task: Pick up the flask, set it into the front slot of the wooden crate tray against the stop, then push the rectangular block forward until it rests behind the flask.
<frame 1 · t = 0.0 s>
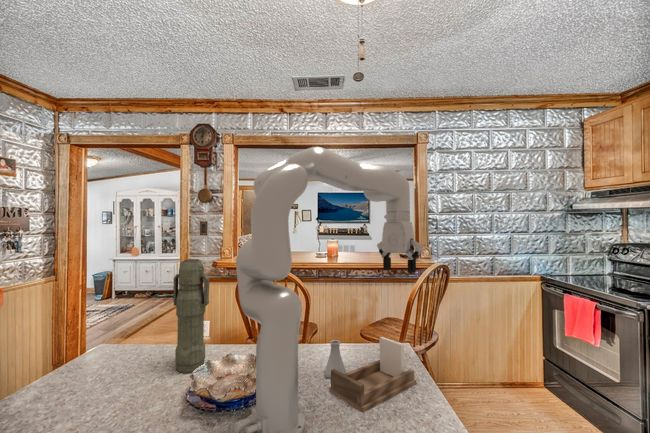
hand: (399, 270, 100), 31 cm above the counter, tool pointing down, fingers open, 9 cm apart
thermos: (190, 368, 101), on the counter
flask: (335, 375, 96), on the counter
wooden crate tray: (373, 387, 88), on the counter
rectangular block: (391, 357, 93), point 6 cm above the counter, slide at 0.0 cm
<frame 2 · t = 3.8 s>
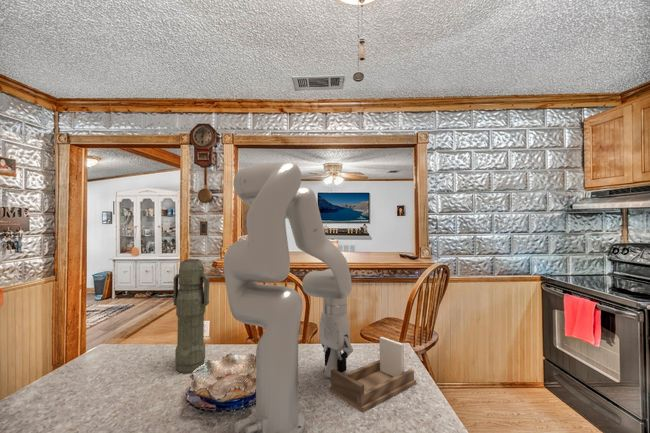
hand: (335, 367, 96), 2 cm above the counter, tool pointing down, fingers closed on flask, 5 cm apart
flask: (335, 375, 96), on the counter, touching gripper
everything else where it was.
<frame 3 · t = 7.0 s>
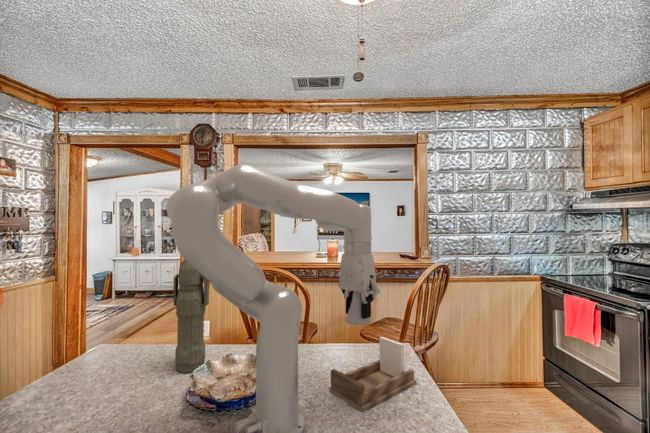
hand: (358, 314, 85), 21 cm above the counter, tool pointing down, fingers closed on flask, 5 cm apart
flask: (358, 323, 85), point 19 cm above the counter, touching gripper
everything else where it was.
when the fingers open (4 cm above the counter, at t = 10.6 s): flask drops 1 cm, resting on wooden crate tray.
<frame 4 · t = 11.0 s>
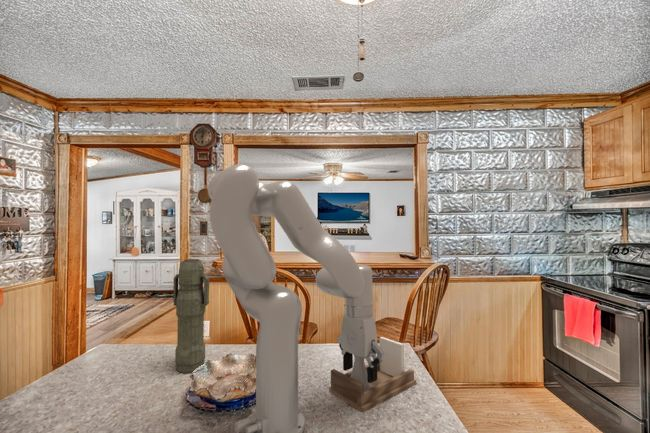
hand: (359, 374, 85), 5 cm above the counter, tool pointing down, fingers open, 8 cm apart
flask: (359, 391, 84), point 1 cm above the counter, touching wooden crate tray
everything else where it was.
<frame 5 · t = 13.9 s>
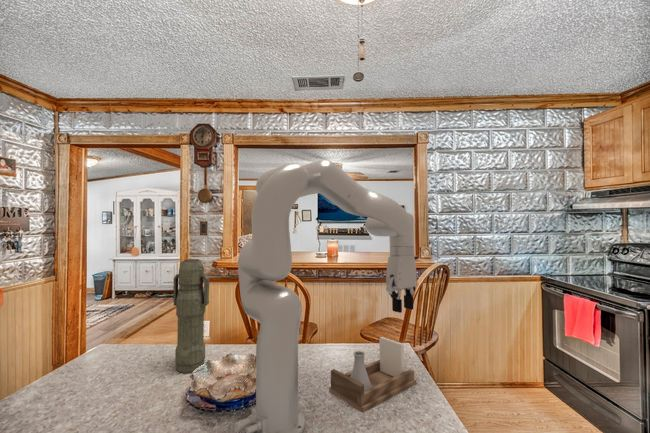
hand: (403, 309, 98), 19 cm above the counter, tool pointing down, fingers open, 5 cm apart
nothing on the counter moved.
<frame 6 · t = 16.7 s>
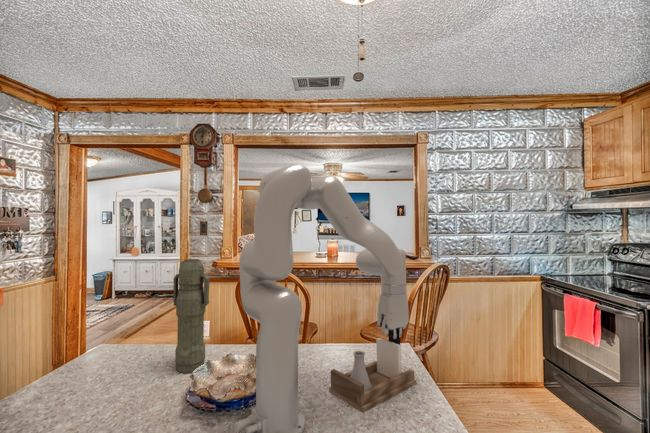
hand: (394, 350, 94), 8 cm above the counter, tool pointing down, fingers closed
rectangular block: (388, 358, 92), point 6 cm above the counter, slide at 1.4 cm, touching gripper
everything else where it was.
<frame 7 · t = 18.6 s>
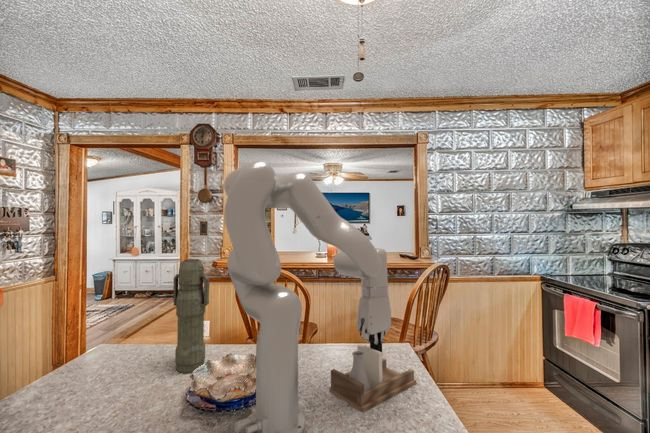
hand: (376, 356, 89), 8 cm above the counter, tool pointing down, fingers closed
flask: (358, 391, 84), point 1 cm above the counter, touching wooden crate tray, rectangular block
rectangular block: (369, 366, 87), point 6 cm above the counter, slide at 9.6 cm, touching gripper, flask
everything else where it was.
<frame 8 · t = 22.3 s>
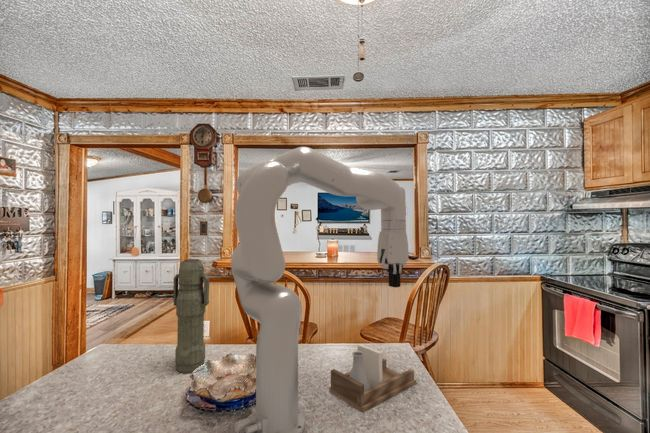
hand: (394, 286, 95), 27 cm above the counter, tool pointing down, fingers closed
flask: (358, 391, 84), point 1 cm above the counter, touching wooden crate tray
rectangular block: (369, 366, 87), point 6 cm above the counter, slide at 9.6 cm
everything else where it was.
at the end: flask 1.5 cm from the target spot on the wooden crate tray, point 0.8 cm above the wooden crate tray's base; flask tilted 0°; rectangular block slide at 9.6 cm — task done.
